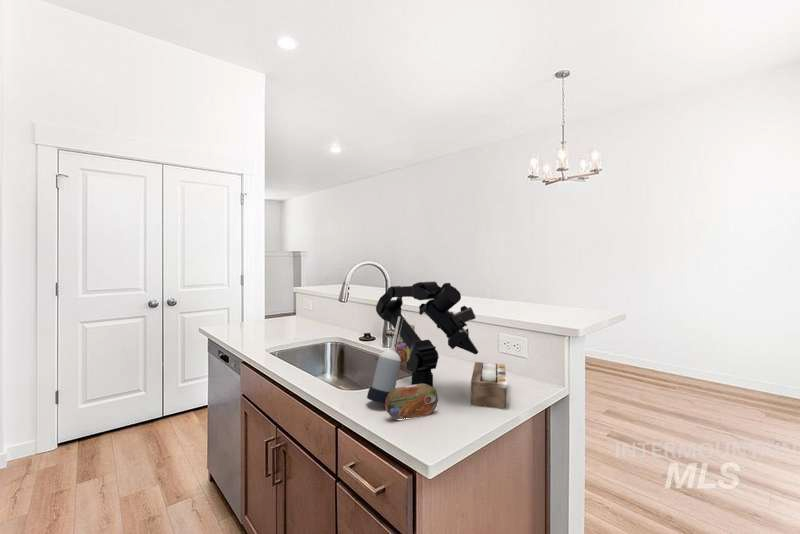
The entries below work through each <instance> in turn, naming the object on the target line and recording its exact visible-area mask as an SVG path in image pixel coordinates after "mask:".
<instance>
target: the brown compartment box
mask: <svg viewBox="0 0 800 534" xmlns="http://www.w3.org/2000/svg"><path fill="white" fill-rule="evenodd" d="M483 363H484V362H482V361H481V362H480V361H479V362H478V361H475V362H474V365H473V371H472V375H471V381H470V406H475V407H476V406H477V407H485V408H493V409H495V408H496V409H504V410H506V409H507V388H508V385H507V383H508V382H507V370H506V369H507V368H506V364H505V363H495V364H496V383H495V382H484V381H482V370H483Z"/></svg>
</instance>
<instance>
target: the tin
mask: <svg viewBox="0 0 800 534" xmlns="http://www.w3.org/2000/svg"><path fill="white" fill-rule="evenodd" d="M438 402H439V394H438V392H437V390H436V389H435V388H434V386H433V387H432V386H430V385H427V384H423V383H422V384H415V385H411V384H410V385H405V386H404V385H403V386H400V387H395V389H393V390H392V391H391V392H390V393H389V394H388V395H387V397H386V402H385V404H384V405H385V410H386V412H387V414H388V415H389V416H390V417H391V418H392V420H393V419H394V420H395V421H398V420H397V419H404V418H405V419H406V418H412V419H414V418H413V417H417V418H421V416H422V417H426V415H427V416H428V415H430V414H432V413H433V412H434V411H435V409H436V407H437V405H438Z"/></svg>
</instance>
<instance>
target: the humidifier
mask: <svg viewBox="0 0 800 534" xmlns="http://www.w3.org/2000/svg"><path fill="white" fill-rule="evenodd" d="M400 318H401V317H399V316H398V320H397V324H396V329H395V334H394V335H393V337H392V342H391V347H390V348H389V349H388V350H385V351H383V352H381V354H380V355H379V357H378V359H377V364H376V369H375V372H374V377H373V381H372V385H371V386H370V387H369V388H368V392H367V395H366V398H367V400H370V401H372V402H375V403H378V404H382V405H385V402H386V397H387V395H388V394H389V393H390V392H391V391H392V390H393V389H395V388H396V385H397V382H398V381H397V380H398V376H399V372H400V368H401V363H402V362H401V359H400V357H399V355H398V354H397V353H396V352H395V351H396V350H395V348H394V346H395V340H396V337H397V334H398V327H399V322H400ZM402 321H403V320H402ZM401 326H402V324H401ZM400 329H401V328H400ZM399 337H400V333H399ZM398 340H399V339H398ZM397 344H398V342H397ZM396 348H397V346H396Z"/></svg>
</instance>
